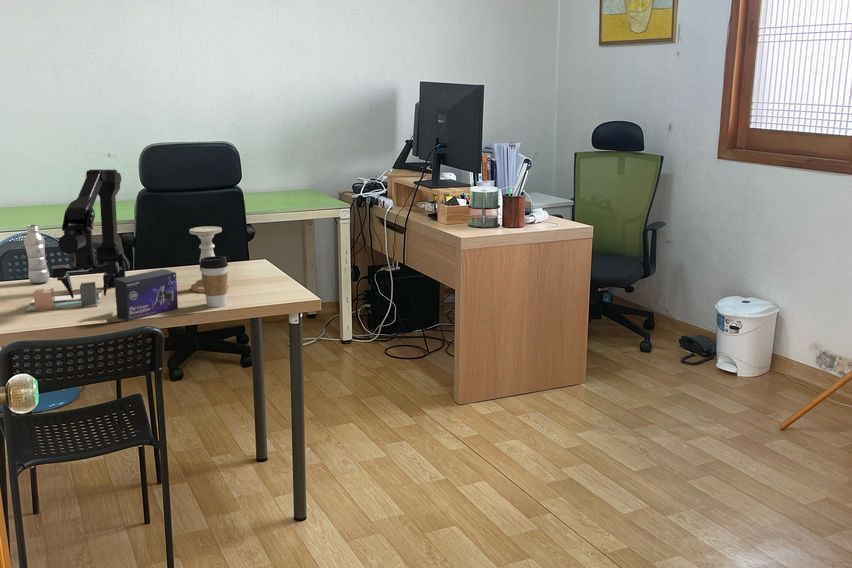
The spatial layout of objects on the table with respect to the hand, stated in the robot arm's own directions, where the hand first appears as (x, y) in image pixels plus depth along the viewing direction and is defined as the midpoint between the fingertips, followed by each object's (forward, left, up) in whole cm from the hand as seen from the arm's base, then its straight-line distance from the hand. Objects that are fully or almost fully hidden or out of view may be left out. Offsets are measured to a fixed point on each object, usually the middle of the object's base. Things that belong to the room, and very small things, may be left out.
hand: (89, 296), depth 255 cm
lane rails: (+8, -4, -3) cm, 9 cm away
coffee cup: (-37, +11, -3) cm, 39 cm away
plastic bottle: (+20, -39, -3) cm, 44 cm away
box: (-17, +14, -4) cm, 22 cm away
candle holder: (-36, -11, -3) cm, 38 cm away
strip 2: (+8, -9, -3) cm, 12 cm away
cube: (+13, 0, -2) cm, 13 cm away
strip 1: (+8, 0, -3) cm, 8 cm away
